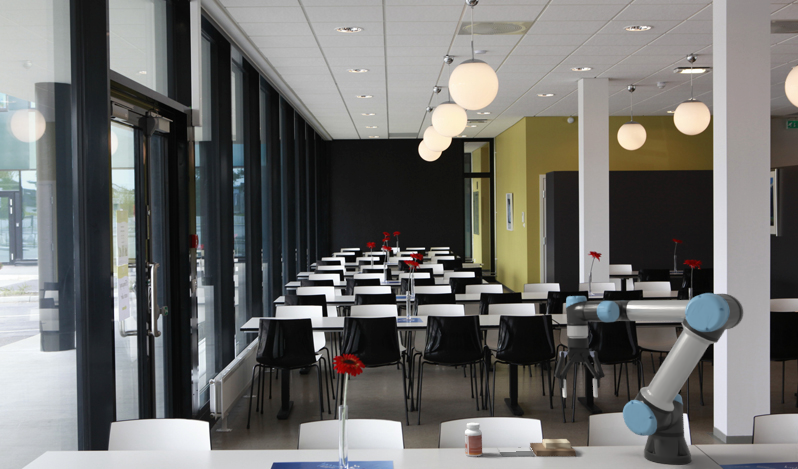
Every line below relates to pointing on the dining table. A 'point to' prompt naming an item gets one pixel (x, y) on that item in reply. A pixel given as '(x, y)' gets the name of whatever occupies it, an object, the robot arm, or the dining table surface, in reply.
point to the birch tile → (556, 443)
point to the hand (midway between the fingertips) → (580, 397)
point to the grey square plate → (517, 454)
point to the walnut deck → (551, 451)
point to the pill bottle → (473, 440)
